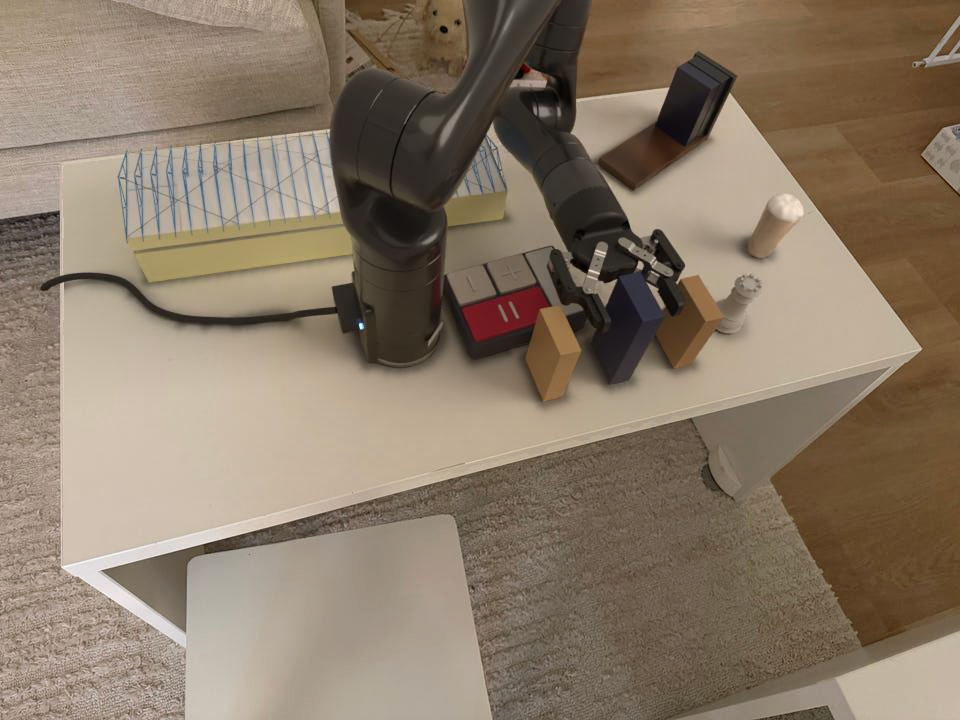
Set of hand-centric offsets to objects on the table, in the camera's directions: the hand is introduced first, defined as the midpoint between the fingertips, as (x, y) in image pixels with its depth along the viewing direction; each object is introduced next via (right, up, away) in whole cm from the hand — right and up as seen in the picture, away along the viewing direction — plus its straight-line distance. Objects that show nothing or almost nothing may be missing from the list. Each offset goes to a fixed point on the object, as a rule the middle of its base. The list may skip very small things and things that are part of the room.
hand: (643, 319), depth 69 cm
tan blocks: (-2, -4, +10) cm, 11 cm away
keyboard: (-37, +15, +18) cm, 43 cm away
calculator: (-13, +2, +13) cm, 19 cm away
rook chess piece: (+14, +1, +15) cm, 21 cm away
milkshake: (+22, +11, +22) cm, 33 cm away
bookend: (+9, +27, +31) cm, 42 cm away
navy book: (-2, -4, +10) cm, 11 cm away
